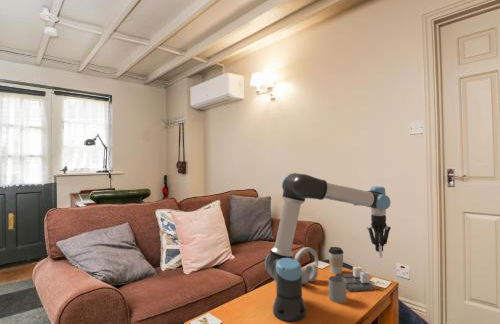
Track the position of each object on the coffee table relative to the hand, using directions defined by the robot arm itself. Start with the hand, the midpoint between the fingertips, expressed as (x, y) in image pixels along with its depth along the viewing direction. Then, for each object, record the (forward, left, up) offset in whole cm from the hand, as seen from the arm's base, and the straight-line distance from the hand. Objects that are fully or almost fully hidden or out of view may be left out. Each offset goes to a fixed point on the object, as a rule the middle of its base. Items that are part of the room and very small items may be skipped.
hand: (379, 256), depth 161 cm
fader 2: (-9, 0, -13) cm, 16 cm away
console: (-13, +4, -16) cm, 21 cm away
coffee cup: (-16, +22, -16) cm, 32 cm away
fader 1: (-9, +8, -13) cm, 18 cm away
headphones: (-39, +9, -16) cm, 43 cm away
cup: (-29, -12, -16) cm, 35 cm away
